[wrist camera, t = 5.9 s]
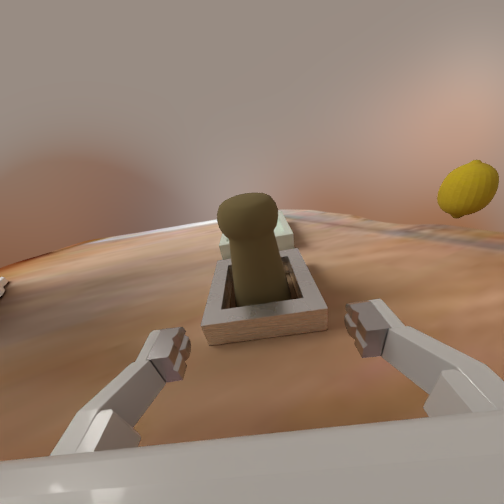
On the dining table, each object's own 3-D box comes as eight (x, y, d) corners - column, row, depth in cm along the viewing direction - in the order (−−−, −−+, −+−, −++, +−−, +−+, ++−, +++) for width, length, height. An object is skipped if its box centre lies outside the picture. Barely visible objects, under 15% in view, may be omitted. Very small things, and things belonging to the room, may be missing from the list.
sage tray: (222, 260, 30) (218, 245, 28) (228, 232, 39) (226, 220, 38) (294, 248, 29) (293, 233, 28) (282, 223, 39) (281, 211, 37)
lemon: (479, 212, 29) (503, 154, 25) (487, 227, 25) (517, 160, 22) (430, 211, 32) (445, 159, 28) (431, 223, 29) (448, 165, 25)
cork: (267, 273, 25) (253, 185, 19) (303, 297, 20) (297, 189, 15) (226, 296, 22) (197, 201, 17) (255, 330, 17) (228, 213, 12)
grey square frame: (209, 345, 17) (200, 325, 16) (222, 276, 26) (217, 260, 25) (327, 329, 16) (327, 308, 15) (298, 264, 25) (297, 248, 24)
